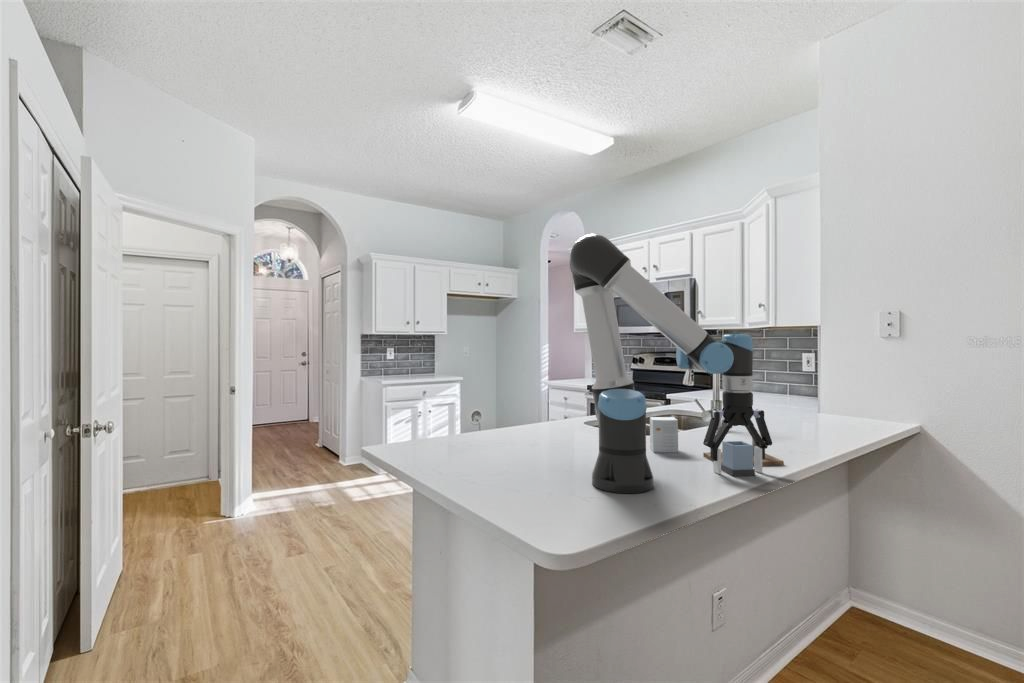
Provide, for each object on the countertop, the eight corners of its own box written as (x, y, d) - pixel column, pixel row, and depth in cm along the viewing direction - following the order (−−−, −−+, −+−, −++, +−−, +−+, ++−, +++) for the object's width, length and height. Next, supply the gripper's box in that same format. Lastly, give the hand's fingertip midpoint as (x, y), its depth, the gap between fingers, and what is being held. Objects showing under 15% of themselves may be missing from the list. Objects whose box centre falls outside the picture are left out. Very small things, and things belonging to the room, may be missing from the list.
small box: (674, 448, 163) (674, 416, 162) (678, 452, 157) (678, 419, 157) (649, 448, 163) (649, 416, 163) (652, 452, 158) (652, 419, 158)
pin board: (722, 466, 140) (722, 443, 140) (703, 456, 152) (703, 434, 152) (783, 465, 141) (783, 441, 141) (759, 454, 153) (759, 433, 153)
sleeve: (732, 476, 131) (732, 446, 131) (720, 470, 137) (720, 441, 137) (754, 475, 131) (754, 445, 131) (742, 469, 137) (742, 440, 137)
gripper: (702, 393, 129) (702, 477, 129) (787, 391, 131) (787, 474, 131) (689, 390, 137) (690, 469, 137) (770, 388, 138) (770, 466, 139)
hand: (737, 471), depth 134 cm, fingers open, 11 cm apart
